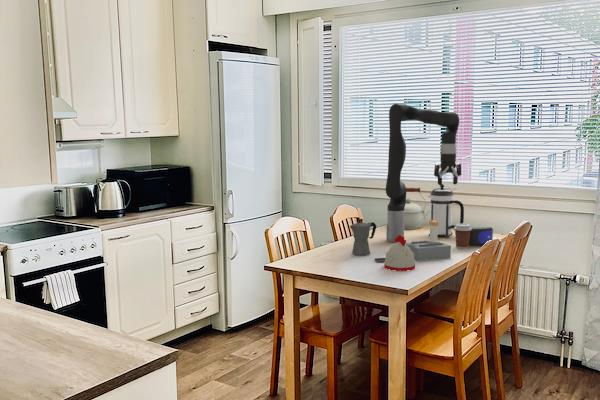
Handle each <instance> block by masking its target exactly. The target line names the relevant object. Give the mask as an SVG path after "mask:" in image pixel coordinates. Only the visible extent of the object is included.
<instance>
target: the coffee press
mask: <svg viewBox="0 0 600 400" xmlns="http://www.w3.org/2000/svg"><path fill="white" fill-rule="evenodd" d="M444 187H445V185H444V184H443V183H442V185H439V187H437V188H434V189H432V190H431V192H430V194H429V195H428V198H430V210H431V212H430V221H432V220H434V221H437V222H438V235H437V236H445V238H446V239H449V238H450V236H452V235H453V234H454V233H453V232H452V229H454V227H455V226H456V224H454V225H453V204H456V205H458V206H459V207H460V215H459V217H460V219H459V224H464V221H465V220H464V219H465V218H464V215H465V209H464V203H462V202H461V201H460V200H454V199H453V197H454V193H453V190H451V189H450V188H444ZM449 235H450V236H449ZM428 236H429V237H430V233H429V235H428Z"/></svg>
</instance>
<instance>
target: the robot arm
mask: <svg viewBox="0 0 600 400" xmlns="http://www.w3.org/2000/svg"><path fill="white" fill-rule="evenodd" d="M388 120H389V121H388V123H389V125H388V126H389V144H388V161H387V177H386V183H385V194H386V196H387V198H389V199H390V200H389V203H388V204H387V214H386V215H387V217H386V219H387V222H386V223H387V224H386V242H390V243H395V239H396V237H398V235H400V236H402V237H404V238H405V229H404V207H405V204H406V200H407V192H406V188H407V187H406V184H405V183H404V182H402V180H401V174H402V170H403V168H404V167H403V166H404V164H405V160H406V153H407V144H406V141H405V139H404V136H403V133H402V122H405V121H417V122H418V121H419V122H421V123H423V124H430V125H436V126H440V127H444V128H446V129H445V131H443V132H442V133H441V143H440V144H441V145H440V164H434V171H433V176H434V177H436V178H437V184H438V185H439V186H440V185H442V184H443V178H442V177H443V176H444V175H445V174H448V173H449V174H452V176H453V177H452V184H453V185H457V184H458V177H461V176H462V164H461V163H457V134H458V130H459V125H460V117H459V115H458V113H456V112H446V111H445V112H442V111H440V110H439V111H438V110H434V109H428V108H427V109H424V108H417V107H414V106H411V105H408V104H406V103H393V104H392V105H391V106H390V108H389V112H388Z"/></svg>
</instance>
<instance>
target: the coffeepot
mask: <svg viewBox="0 0 600 400" xmlns="http://www.w3.org/2000/svg"><path fill="white" fill-rule="evenodd" d="M363 220H364V219H363V218H360V219H359V222H356V223H353V224H351V225H349V229H351V231H352V232H353V238H354V241H353V247H352V250H351V251H352V253H351V254H352V255H353V256H357V257H365V256H366V255H367V256H369V254H370V255H371V252H370V245H369V239H370V240H371V239H373V238H374V236H375V232H376V229H377V225H376V223H375V222H363ZM371 227H372V231H371V230H370V229H371ZM370 231H371V236H370Z"/></svg>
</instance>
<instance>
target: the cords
mask: <svg viewBox="0 0 600 400" xmlns="http://www.w3.org/2000/svg"><path fill="white" fill-rule="evenodd" d="M385 258H386V257H377V258H376V257H375V258H374V261H375V262H376V263H385Z"/></svg>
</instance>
